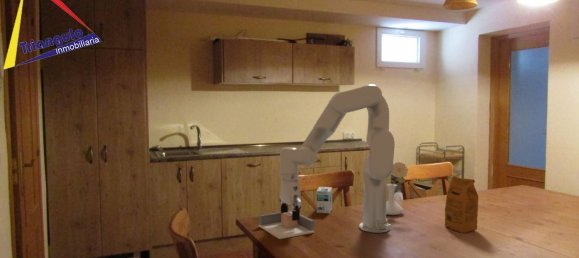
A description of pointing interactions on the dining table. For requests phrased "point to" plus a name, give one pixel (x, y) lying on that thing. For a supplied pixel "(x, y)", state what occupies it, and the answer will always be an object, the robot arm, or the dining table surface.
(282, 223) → the cube
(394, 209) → the flower in vase
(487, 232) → the dining table surface
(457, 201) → the coffee package
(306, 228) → the tray
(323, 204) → the light bulb box
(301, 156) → the robot arm
